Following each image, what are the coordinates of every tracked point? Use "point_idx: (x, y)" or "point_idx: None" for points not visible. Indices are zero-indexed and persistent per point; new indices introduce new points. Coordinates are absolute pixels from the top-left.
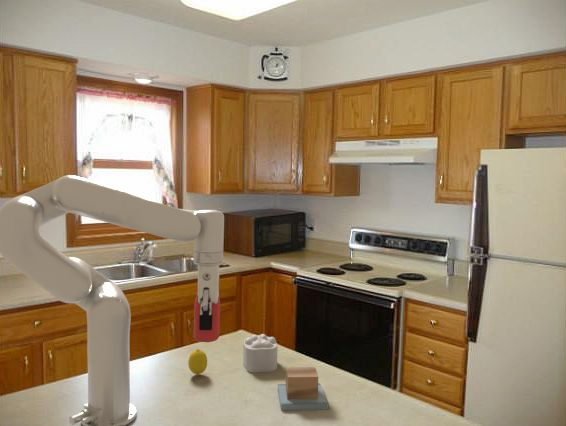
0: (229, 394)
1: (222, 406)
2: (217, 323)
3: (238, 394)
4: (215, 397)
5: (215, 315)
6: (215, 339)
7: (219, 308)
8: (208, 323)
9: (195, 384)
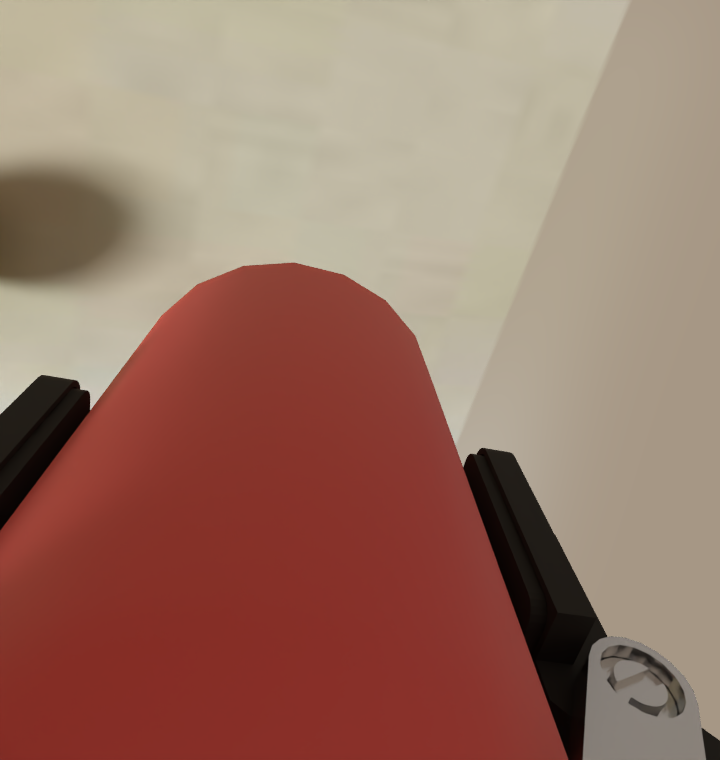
0: (259, 77)
1: (401, 151)
2: (413, 386)
3: (270, 13)
4: (283, 174)
5: (473, 516)
6: (401, 321)
7: (373, 510)
8: (569, 563)
9: (92, 266)
